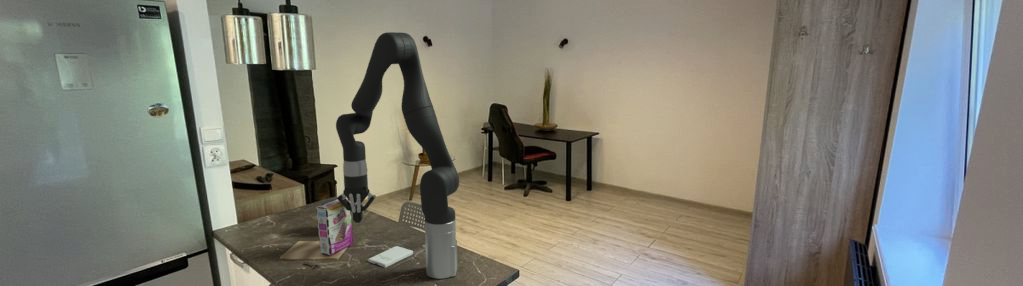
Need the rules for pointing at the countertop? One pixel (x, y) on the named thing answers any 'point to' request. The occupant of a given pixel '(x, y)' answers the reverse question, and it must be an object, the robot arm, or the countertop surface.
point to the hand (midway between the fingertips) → (358, 222)
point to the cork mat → (309, 252)
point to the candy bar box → (334, 227)
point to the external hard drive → (390, 256)
